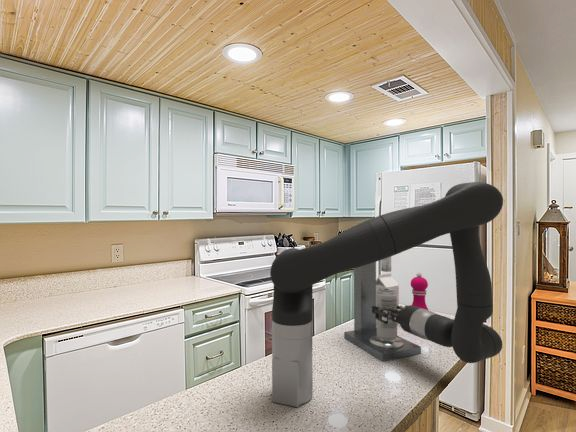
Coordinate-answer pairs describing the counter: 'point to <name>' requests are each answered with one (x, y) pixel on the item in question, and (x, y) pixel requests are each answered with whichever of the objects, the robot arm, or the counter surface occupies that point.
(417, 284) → the pepper mill
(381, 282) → the milk carton
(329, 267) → the robot arm
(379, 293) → the energy drink can
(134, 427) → the counter surface
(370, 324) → the arbor press
